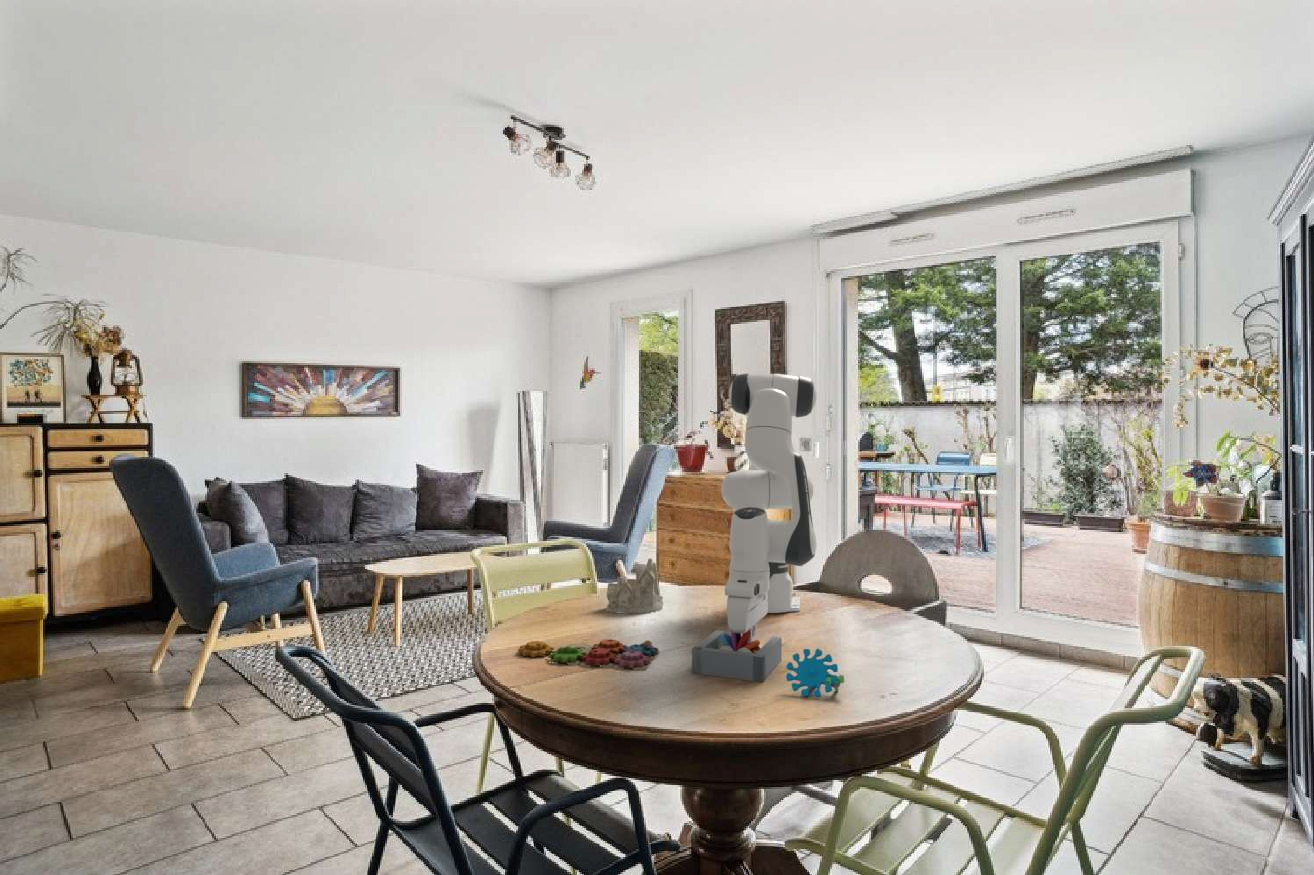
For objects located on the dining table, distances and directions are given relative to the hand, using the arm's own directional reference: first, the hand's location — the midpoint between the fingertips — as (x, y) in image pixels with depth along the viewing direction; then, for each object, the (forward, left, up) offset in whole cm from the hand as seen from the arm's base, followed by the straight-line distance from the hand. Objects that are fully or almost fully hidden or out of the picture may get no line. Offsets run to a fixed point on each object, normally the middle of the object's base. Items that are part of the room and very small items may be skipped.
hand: (749, 643), depth 171 cm
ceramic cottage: (-33, -42, -3) cm, 54 cm away
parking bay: (+8, 0, -3) cm, 9 cm away
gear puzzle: (+14, -33, -3) cm, 36 cm away
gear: (+18, +18, -3) cm, 26 cm away
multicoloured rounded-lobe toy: (+6, -1, -3) cm, 6 cm away
